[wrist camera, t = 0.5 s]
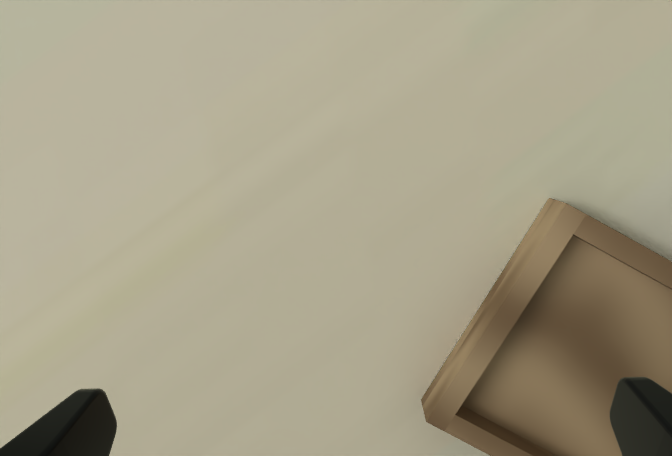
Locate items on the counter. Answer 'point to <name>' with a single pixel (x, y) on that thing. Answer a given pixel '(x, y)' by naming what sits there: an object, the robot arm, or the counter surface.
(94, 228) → the counter surface
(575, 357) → the tray
